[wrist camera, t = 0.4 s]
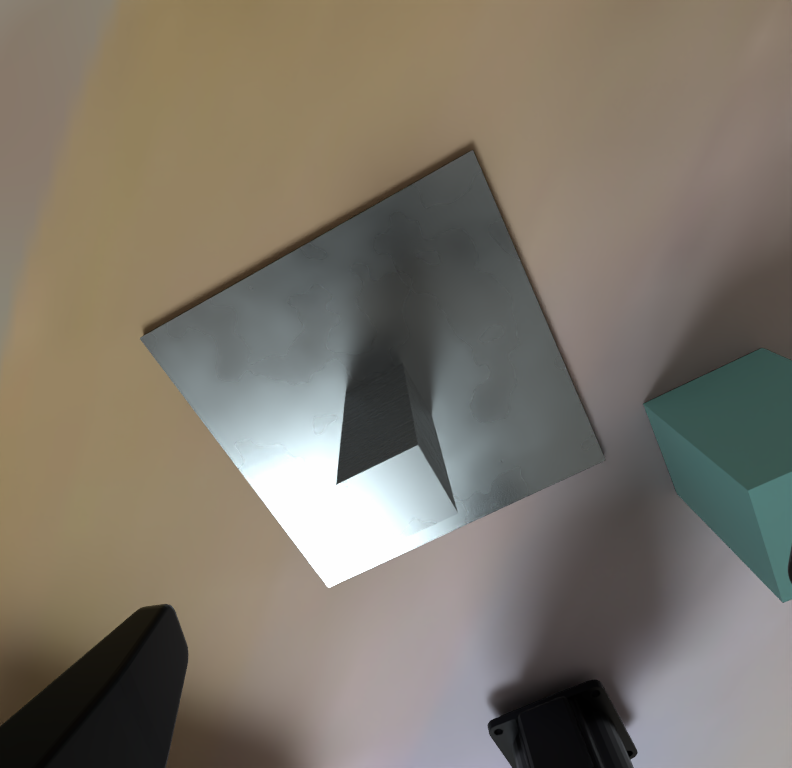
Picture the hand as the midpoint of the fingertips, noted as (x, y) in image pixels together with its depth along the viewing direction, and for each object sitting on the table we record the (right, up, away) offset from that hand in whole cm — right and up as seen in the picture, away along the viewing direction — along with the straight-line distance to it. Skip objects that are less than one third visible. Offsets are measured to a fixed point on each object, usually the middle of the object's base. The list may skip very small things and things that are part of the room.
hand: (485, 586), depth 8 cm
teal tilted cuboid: (+13, +1, +15) cm, 20 cm away
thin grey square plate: (-2, +2, +14) cm, 14 cm away
